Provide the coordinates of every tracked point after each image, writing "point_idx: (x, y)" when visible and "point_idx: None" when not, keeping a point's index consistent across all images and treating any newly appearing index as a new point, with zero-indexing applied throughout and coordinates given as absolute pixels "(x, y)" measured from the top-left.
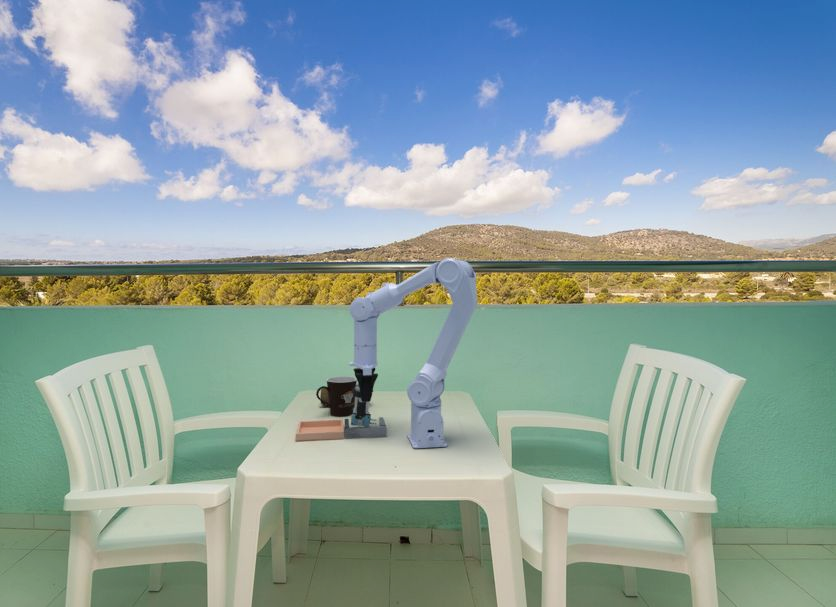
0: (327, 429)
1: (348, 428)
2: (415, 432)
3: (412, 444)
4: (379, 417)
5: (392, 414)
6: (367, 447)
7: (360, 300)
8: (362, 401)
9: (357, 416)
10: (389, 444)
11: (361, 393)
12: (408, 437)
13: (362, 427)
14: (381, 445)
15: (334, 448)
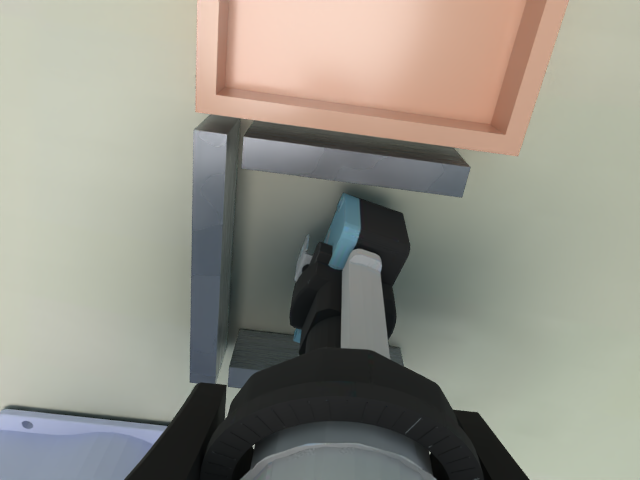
0: (441, 5)
1: (202, 155)
2: (33, 477)
3: (26, 417)
4: None
5: (595, 452)
6: (36, 216)
7: None
8: (196, 386)
9: (313, 264)
10: (79, 329)
11: (152, 454)
12: (142, 426)
13: (208, 253)
14: (66, 291)
15: (22, 5)
